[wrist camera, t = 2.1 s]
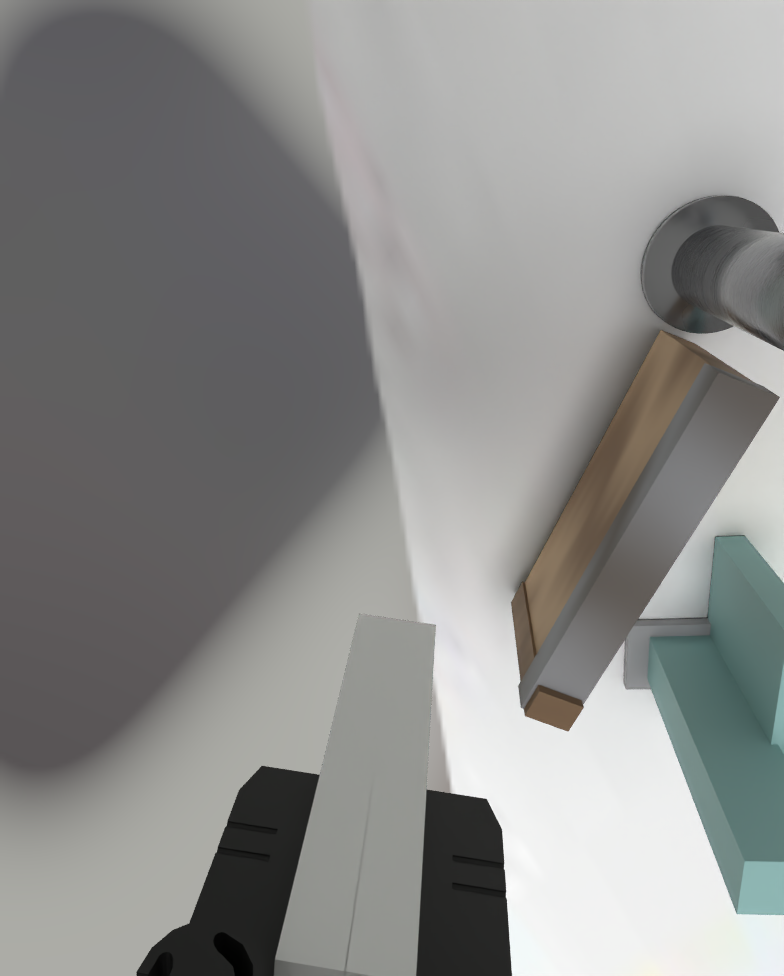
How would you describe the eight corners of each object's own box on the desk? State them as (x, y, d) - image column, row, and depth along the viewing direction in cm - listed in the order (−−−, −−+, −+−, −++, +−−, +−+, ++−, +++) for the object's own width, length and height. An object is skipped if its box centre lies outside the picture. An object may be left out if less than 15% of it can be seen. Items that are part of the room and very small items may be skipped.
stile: (629, 540, 25) (725, 740, 16) (744, 535, 25) (911, 739, 15) (623, 682, 28) (703, 925, 18) (727, 680, 27) (862, 929, 18)
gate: (654, 327, 21) (722, 375, 16) (701, 346, 21) (785, 400, 16) (508, 601, 26) (521, 714, 20) (547, 616, 26) (571, 732, 20)
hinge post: (643, 203, 21) (803, 214, 11) (785, 188, 20) (1079, 187, 11) (638, 335, 22) (773, 446, 13) (769, 325, 22) (1012, 432, 12)
